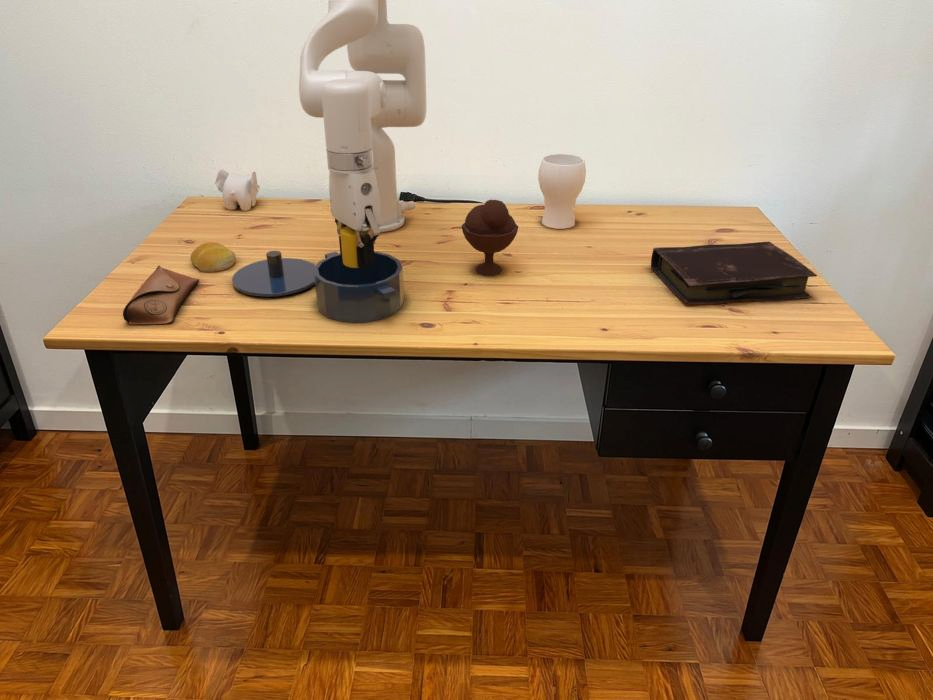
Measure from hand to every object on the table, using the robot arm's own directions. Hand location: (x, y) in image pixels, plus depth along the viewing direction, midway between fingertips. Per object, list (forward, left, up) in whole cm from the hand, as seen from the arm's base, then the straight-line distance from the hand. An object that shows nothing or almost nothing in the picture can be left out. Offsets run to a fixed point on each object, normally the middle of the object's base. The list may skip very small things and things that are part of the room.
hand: (357, 259), depth 129 cm
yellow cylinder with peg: (0, 0, 0) cm, 0 cm away
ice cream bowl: (-28, +3, -9) cm, 30 cm away
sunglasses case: (+28, -22, -9) cm, 37 cm away
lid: (+8, -18, -8) cm, 21 cm away
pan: (0, 0, -9) cm, 9 cm away
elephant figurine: (-4, -63, -9) cm, 64 cm away
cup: (-58, -8, -9) cm, 59 cm away
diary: (-62, +36, -9) cm, 72 cm away
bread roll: (+15, -33, -9) cm, 37 cm away
